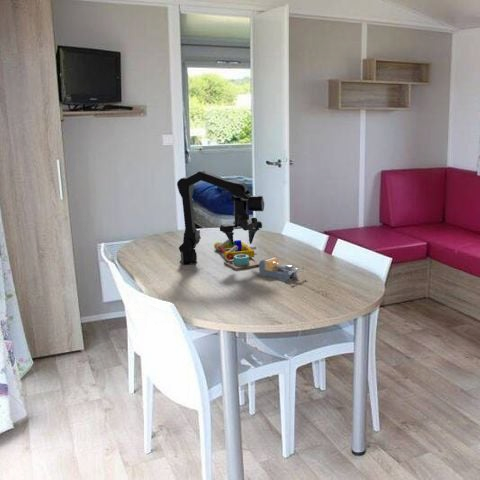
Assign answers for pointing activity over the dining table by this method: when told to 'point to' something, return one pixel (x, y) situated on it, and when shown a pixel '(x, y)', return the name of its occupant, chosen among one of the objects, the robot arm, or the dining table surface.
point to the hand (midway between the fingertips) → (241, 245)
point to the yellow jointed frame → (234, 249)
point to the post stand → (240, 267)
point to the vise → (277, 269)
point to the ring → (241, 260)
